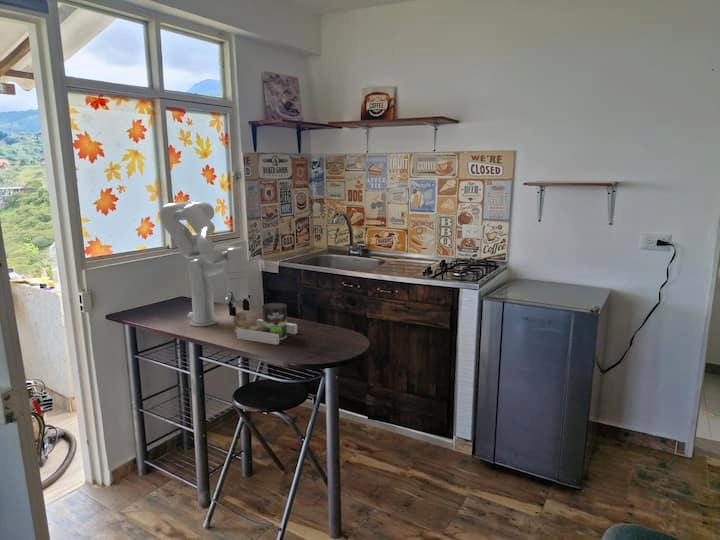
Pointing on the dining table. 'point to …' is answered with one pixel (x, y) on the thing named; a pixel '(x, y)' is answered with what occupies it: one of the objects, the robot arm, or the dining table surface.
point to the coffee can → (275, 319)
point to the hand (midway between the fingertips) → (239, 312)
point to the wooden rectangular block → (243, 323)
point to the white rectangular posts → (263, 334)
